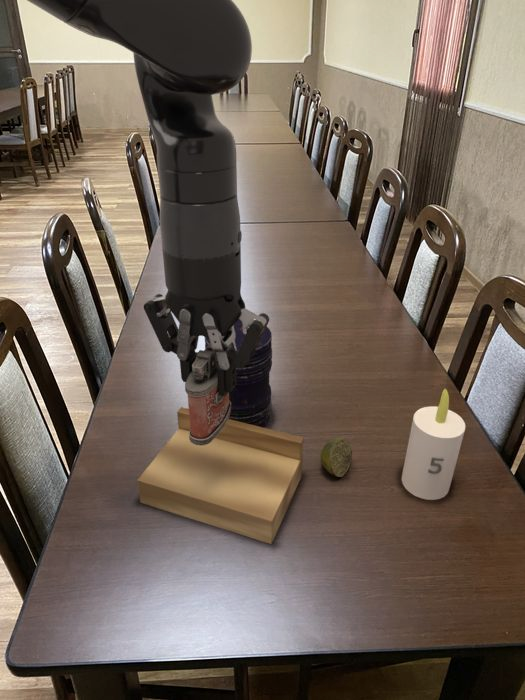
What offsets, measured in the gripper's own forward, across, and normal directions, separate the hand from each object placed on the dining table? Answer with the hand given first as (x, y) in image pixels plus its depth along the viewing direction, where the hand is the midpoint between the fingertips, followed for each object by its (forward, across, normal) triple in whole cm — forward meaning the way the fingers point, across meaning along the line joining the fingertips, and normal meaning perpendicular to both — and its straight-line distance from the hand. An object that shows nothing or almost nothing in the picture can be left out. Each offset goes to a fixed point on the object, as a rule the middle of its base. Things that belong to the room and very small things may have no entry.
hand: (209, 387), depth 60 cm
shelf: (+18, 0, +2) cm, 18 cm away
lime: (+18, +13, +11) cm, 25 cm away
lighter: (+5, 0, 0) cm, 5 cm away
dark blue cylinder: (+18, -4, +17) cm, 25 cm away
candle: (+18, +25, +13) cm, 34 cm away
